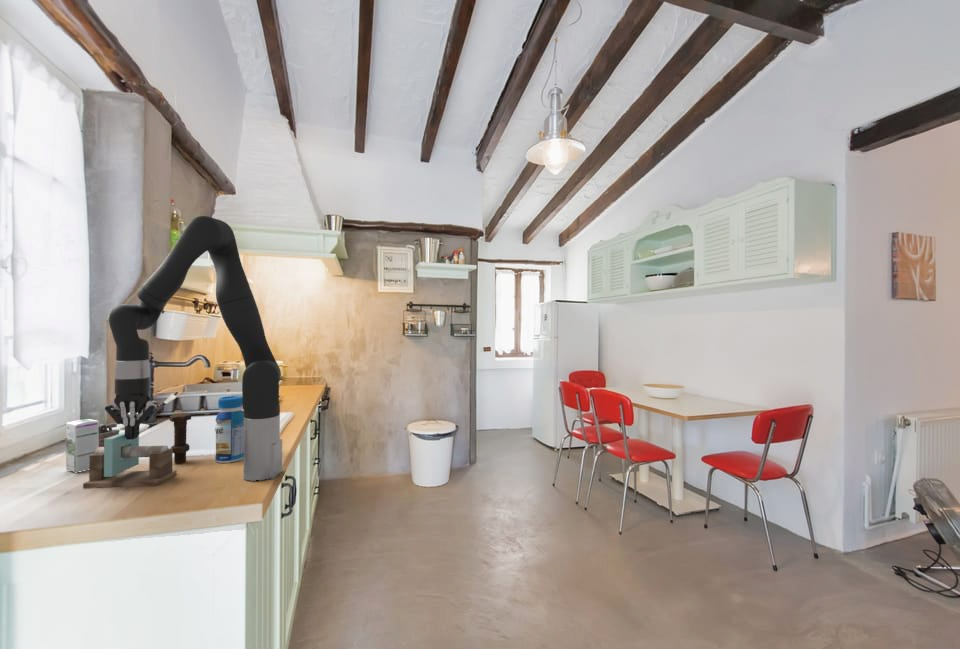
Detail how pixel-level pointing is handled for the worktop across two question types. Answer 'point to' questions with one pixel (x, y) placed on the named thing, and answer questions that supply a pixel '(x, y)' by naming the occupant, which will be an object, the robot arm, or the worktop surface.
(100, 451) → the pipe stand
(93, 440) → the syrup box
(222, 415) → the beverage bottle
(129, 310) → the robot arm
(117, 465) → the collar
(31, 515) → the worktop surface
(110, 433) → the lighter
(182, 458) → the bolt
